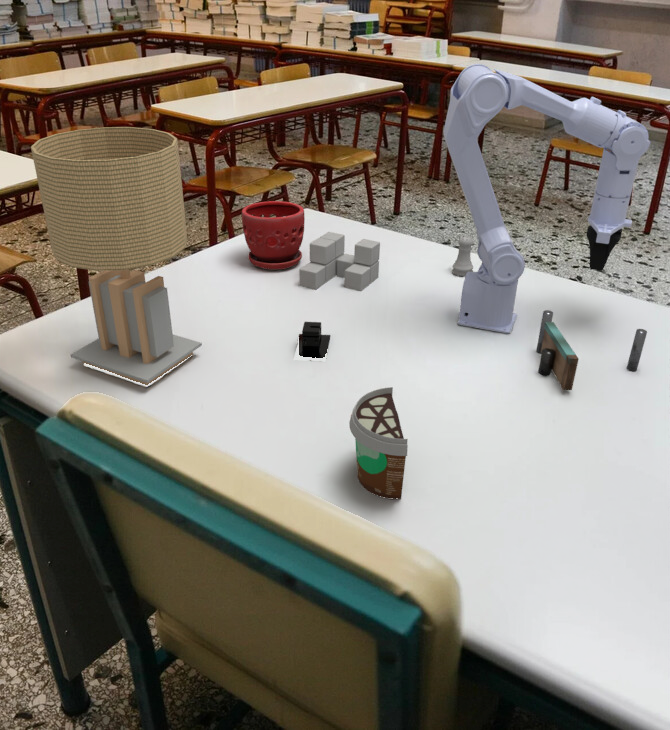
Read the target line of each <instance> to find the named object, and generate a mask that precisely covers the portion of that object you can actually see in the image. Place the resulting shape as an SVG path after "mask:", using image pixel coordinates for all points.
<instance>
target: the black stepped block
mask: <svg viewBox="0 0 670 730" xmlns="http://www.w3.org/2000/svg"><path fill="white" fill-rule="evenodd" d="M298 337H299V355H300V356H303V357H312V358H315V357H316V358H323V357H325V354H326V353H327V354H328V352H327V349H328V350H329V346H330V345H329V344H330V340H331V339H330V338H331V335H330V334H322V322H320V321H319V322H318V321H304V323H303V327H302V331H301V333H299V334H298Z"/></svg>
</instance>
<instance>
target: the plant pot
mask: <svg viewBox="0 0 670 730" xmlns="http://www.w3.org/2000/svg"><path fill="white" fill-rule="evenodd" d="M271 215H274V217H273V216H272V217H271ZM262 216H263V217H262ZM305 219H306V218H305V209H304V208H303V206H302V205H300V204H298V203H294V202H289V201H280V200H275V201H274V200H271V201H260V202H256V203H252V204H249V205H246V206H244V207H243V208H242V210H241V220H242V221H241V224H242V230H243V235H244V240H245V242H246V245H247V247H248V249H249V252H248V255H247V257H248V258H247V259H248V261H249V262H250V263H251V264H252V265H254V266H255V267H257V268H261V269H264V270H273V271H274V270H275V271H276V270H287V269H289V268H291V267H294V266H296V265H298V263H299V262H300V261H301V260H302V257H303V253H302V251H301V250H300V247H301V246H302V243H303V241H304V232H305Z"/></svg>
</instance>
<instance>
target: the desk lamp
mask: <svg viewBox="0 0 670 730" xmlns="http://www.w3.org/2000/svg"><path fill="white" fill-rule="evenodd" d="M30 150H31V156H32V159H33V164H34V169H35V174H36V178H37V183H38V189H39V193H40V199H41V202H42V203H41V204H42V208H43V212H44V219H45V223H46V227H47V233H48V236H49V241H50V247H51V252H52V254H53V256H54V257H55V260H56V261H58V262H59V263H62V264H64V265H66V266H68V267H70V268H75V269H82V270H90V271H94V272H95V271H96V272H97V271H99V272H98V273H96V274H94V275H92V276H90V277H88V280H89V281H88V286H89V292H90V298H91V303H92V308H93V313H94V319H95V325H96V330H97V335H98V338H97V339H95V340H94V341H92V342H90V343H89V344H87V345H84V346H83V347H82V348H80V349H78V350H76V351H75V352H73V353H71V354H70V357H71V359H76V360H78V361H81V362H82V364H83V363H86V364H89V365H92V366H95V367H98V368H100V369H104V370H107V371H109V372H112V373H115V374H117V375H120V376H122V377H125V378H128V379H130V380H133V381H136V382H140V383H142V384H145V385H148V384H149V383H151V382H152V381H154V380H156V379H157V378H158V377H160V376H162V375H163V374H164V373H166V372H167V371H169V370H170V369H172V368H173V367H175V366H177V365H178V364H179V363H181V362H182V361H184V360H185V359H187V358H188V357H190V356H191V355H193V356H194V352H195V351H196V350H198V349H199V348H200V347H201V346H203V344H202V342H200V341H197V340H193V339H189V338H186V337H183V336H179V335H177V334H173V327H172V318H171V311H170V310H171V309H170V301H169V293H168V287H165V283H164V282H165V281H164V276H160V275H158V276H155V277H154V278H152V279H150V280H148V281H146V278H145V277H146V276H145V275H146V274H145V272H144V271H140V270H138V269H137V268H142V267H149V266H153V265H156V264H159V263H162V262H164V261H167V260H169V259H173V258H174V257H176V256H177V255H179V253H181V252H183V251H184V250H185V249H186V247H187V242H188V232H187V230H188V229H187V223H186V213H185V212H186V211H185V203H184V193H183V191H184V190H183V181H182V173H181V172H182V171H181V163H180V151H179V141H178V138H177V137H176V136H174V135H173V134H171V133H170V132H166V131H162V130H159V129H158V130H157V129H154V128H144V127H143V128H141V127H132V126H127V127H126V126H119V127H116V126H115V127H113V126H112V127H109V126H108V127H107V126H106V127H96V128H86V129H83V128H81V129H76V130H71V131H65V132H60V133H59V132H58V133H55V134H52V135H49V136H46V137H43V138H40V139H38V140H37V141H35V142H34V144H32V145H31V146H30ZM132 269H133V270H132Z"/></svg>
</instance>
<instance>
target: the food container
mask: <svg viewBox="0 0 670 730" xmlns="http://www.w3.org/2000/svg"><path fill="white" fill-rule="evenodd" d="M393 390H394V389H393V387H391V386H390V387H383V388H382V387H381V388H379V389H378V388H377V389H373V390H372V391H370V392H367V393H366V394H364V395H362V396H361V397H360V398H359V399H358V401H357V402H356V404H355V405H354V407H353V408H352V412H351V415H350V420H349V430H350V432H351V435H352V436H353V437H354V438H355V439H354V440H355V456H356V457H355V459H356V473H357V474H356V475H357V480H359V481H358V482H359V484H360V485H361V486H362V488H364V490H365V491H367V492H369V493H371V494H372V493H373V494H372V495H374V494H375V495H374V496H377V495H378V496H377V497H380V496H381V497H380V498H383V497H385V498H384V499H388V498H393V499H392V500H402V494H403V485H404V477H405V476H404V475H405V468H406V467H405V466H406V460H407V459H406V458H407V456H408V448H409V447H408V438H404V433H403V429H402V426H401V422H400V418H399V413H398V411H397V409H396V405H395V401H394V398H393ZM396 498H398V499H396Z"/></svg>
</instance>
